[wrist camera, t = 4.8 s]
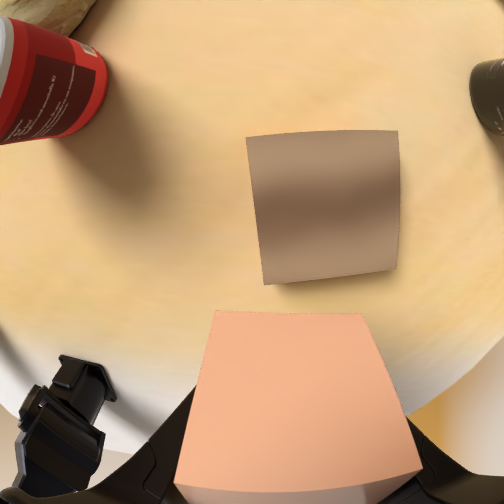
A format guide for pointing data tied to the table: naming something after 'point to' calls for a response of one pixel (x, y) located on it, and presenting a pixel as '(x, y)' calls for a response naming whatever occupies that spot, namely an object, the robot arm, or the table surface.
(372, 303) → the table surface
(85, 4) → the pastry
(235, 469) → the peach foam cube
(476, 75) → the supplement bottle
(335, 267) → the walnut box
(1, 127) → the canned food
